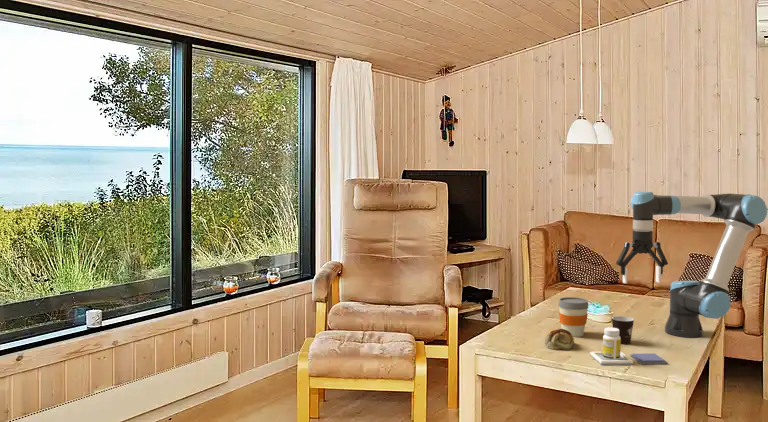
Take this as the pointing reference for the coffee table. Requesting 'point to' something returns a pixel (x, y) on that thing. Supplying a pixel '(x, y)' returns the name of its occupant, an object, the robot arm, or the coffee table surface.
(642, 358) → the ink pad
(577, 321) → the reusable coffee cup
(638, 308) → the coffee table surface
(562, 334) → the pastry
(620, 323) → the coffee mug
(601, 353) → the picture frame
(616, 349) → the supplement bottle
